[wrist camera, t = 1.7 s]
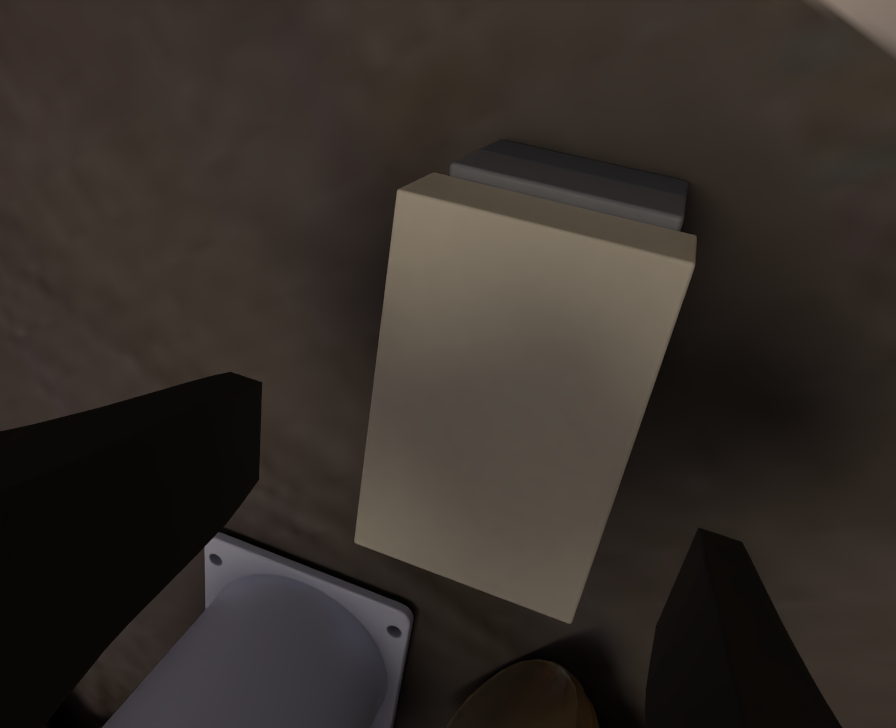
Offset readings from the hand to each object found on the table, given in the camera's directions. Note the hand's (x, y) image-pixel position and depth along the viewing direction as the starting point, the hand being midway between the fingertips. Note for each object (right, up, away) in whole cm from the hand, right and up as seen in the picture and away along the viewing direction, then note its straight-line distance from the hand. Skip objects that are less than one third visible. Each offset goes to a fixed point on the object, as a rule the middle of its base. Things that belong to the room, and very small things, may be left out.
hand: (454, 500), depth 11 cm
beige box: (+1, +2, +4) cm, 4 cm away
